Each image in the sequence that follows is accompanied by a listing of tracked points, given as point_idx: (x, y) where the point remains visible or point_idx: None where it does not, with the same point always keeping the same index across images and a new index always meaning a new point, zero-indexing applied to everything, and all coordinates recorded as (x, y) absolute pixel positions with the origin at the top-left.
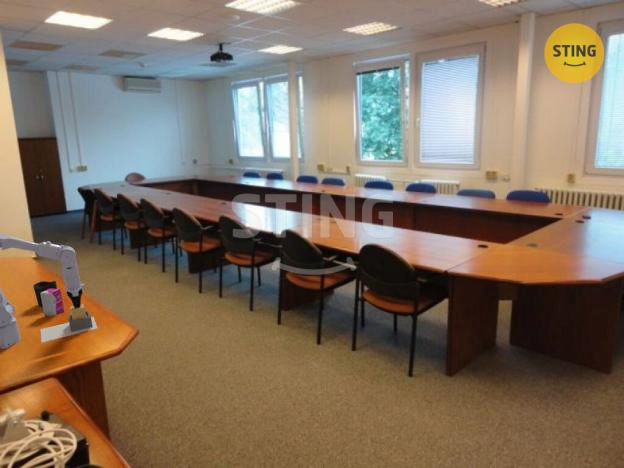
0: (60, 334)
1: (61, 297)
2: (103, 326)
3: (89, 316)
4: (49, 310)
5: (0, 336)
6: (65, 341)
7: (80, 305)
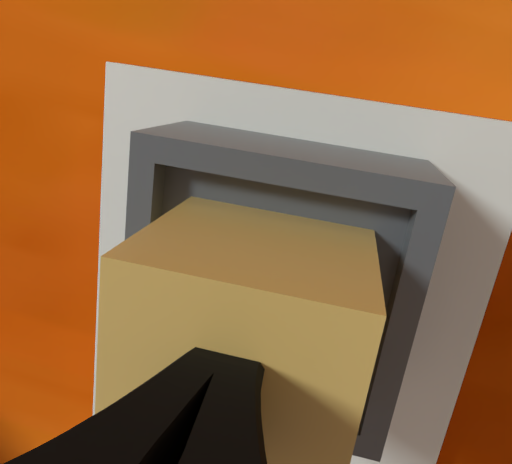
0: None
1: None
2: (463, 30)
3: (403, 196)
4: None
5: None
6: (501, 448)
7: (259, 376)
